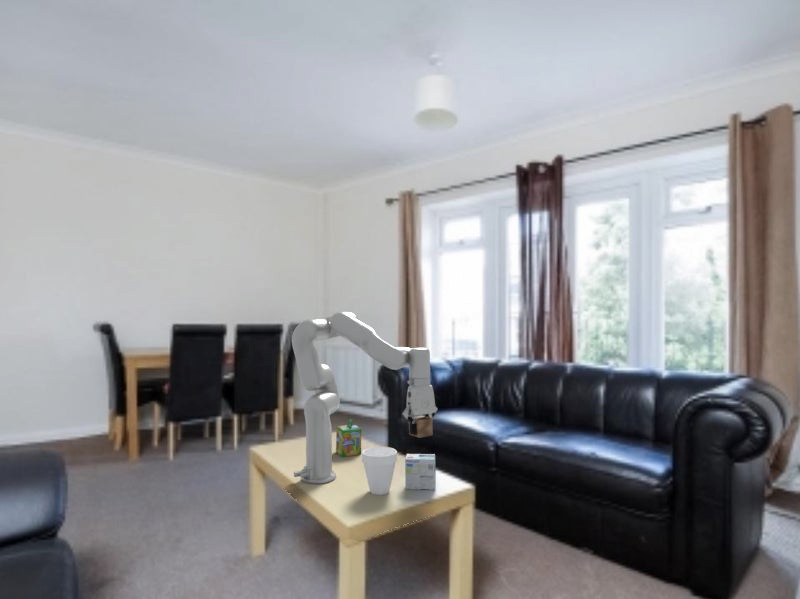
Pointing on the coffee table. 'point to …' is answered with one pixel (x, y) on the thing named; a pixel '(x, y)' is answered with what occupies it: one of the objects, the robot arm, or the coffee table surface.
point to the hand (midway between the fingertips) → (420, 432)
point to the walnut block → (423, 426)
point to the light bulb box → (420, 471)
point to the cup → (379, 468)
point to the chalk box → (348, 440)
